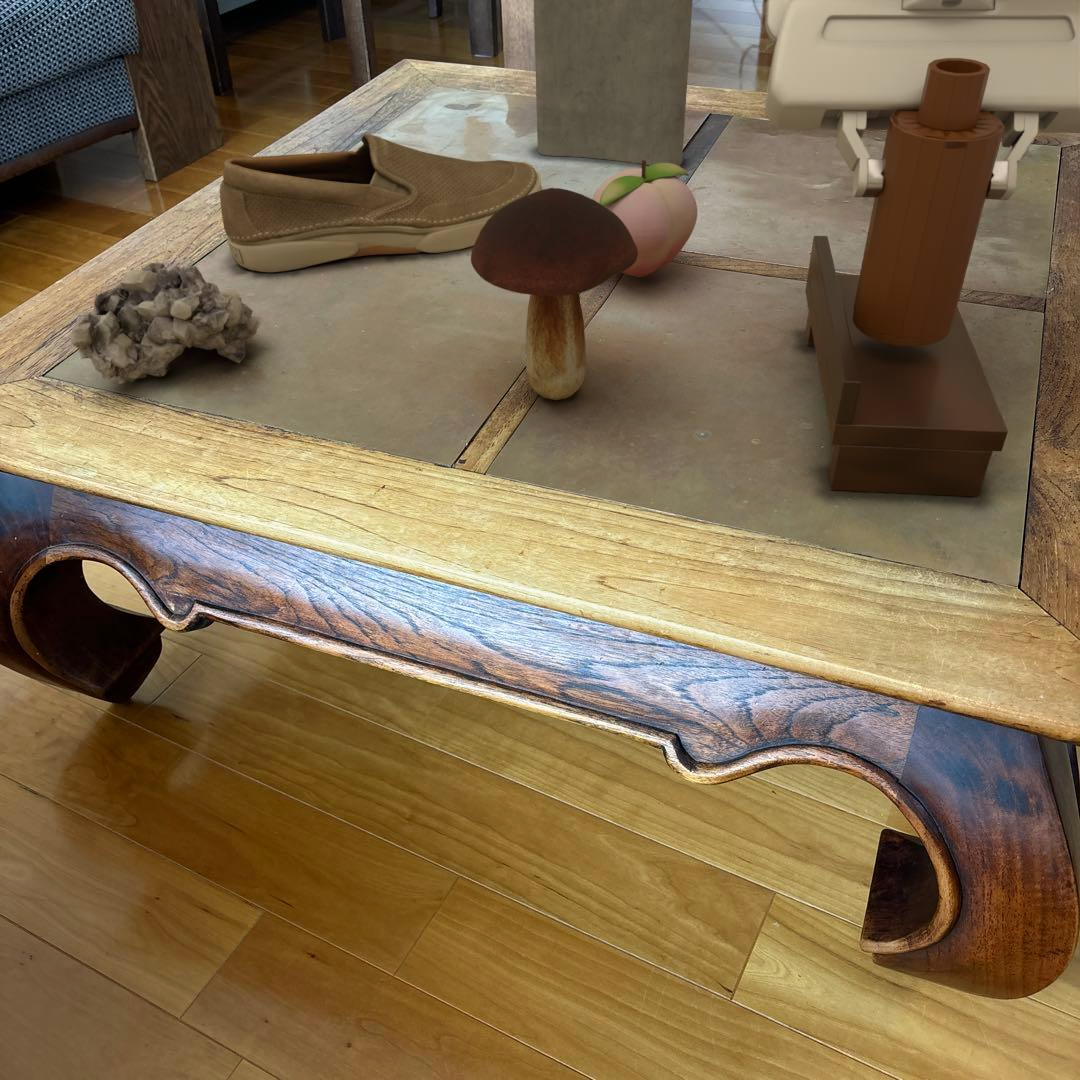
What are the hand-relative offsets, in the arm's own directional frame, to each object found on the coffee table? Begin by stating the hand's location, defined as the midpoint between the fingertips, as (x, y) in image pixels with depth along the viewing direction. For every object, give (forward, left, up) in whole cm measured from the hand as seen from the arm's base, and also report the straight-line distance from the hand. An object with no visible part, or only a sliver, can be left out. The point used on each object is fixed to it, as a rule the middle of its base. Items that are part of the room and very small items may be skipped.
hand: (933, 195), depth 61 cm
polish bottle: (0, -1, -9) cm, 9 cm away
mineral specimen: (+52, -3, -16) cm, 54 cm away
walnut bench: (0, -1, -15) cm, 15 cm away
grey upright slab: (+22, -48, -16) cm, 55 cm away
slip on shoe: (+41, -27, -16) cm, 51 cm away
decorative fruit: (+18, -20, -16) cm, 31 cm away
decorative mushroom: (+23, -1, -16) cm, 28 cm away
